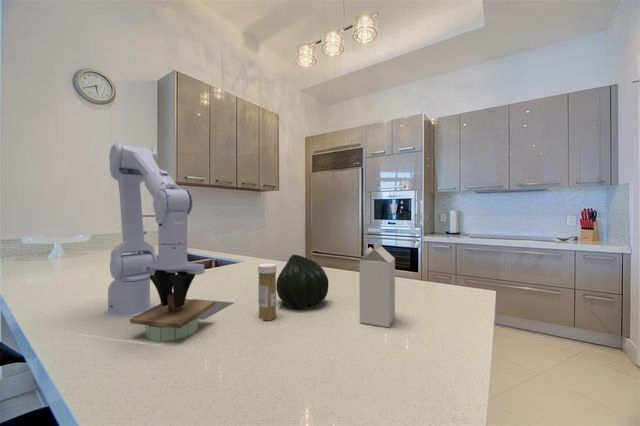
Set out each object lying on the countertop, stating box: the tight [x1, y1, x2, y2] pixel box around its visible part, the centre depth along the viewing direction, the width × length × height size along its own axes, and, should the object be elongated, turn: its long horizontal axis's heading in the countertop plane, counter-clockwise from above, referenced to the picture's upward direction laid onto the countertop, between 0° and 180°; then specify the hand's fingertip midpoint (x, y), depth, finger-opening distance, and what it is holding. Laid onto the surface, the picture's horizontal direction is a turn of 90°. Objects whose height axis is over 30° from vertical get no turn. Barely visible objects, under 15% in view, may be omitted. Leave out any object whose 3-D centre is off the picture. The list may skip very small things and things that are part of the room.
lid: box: [129, 291, 216, 329], centre depth 66 cm, size 12×12×4 cm
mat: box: [192, 298, 234, 321], centre depth 81 cm, size 14×14×1 cm
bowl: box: [145, 317, 199, 342], centre depth 65 cm, size 10×10×3 cm
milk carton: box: [359, 241, 396, 328], centre depth 73 cm, size 7×7×19 cm
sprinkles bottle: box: [257, 262, 277, 321], centre depth 75 cm, size 5×5×14 cm
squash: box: [276, 254, 329, 309], centre depth 87 cm, size 14×15×15 cm
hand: (173, 305), depth 65 cm, fingers closed on lid, 3 cm apart
